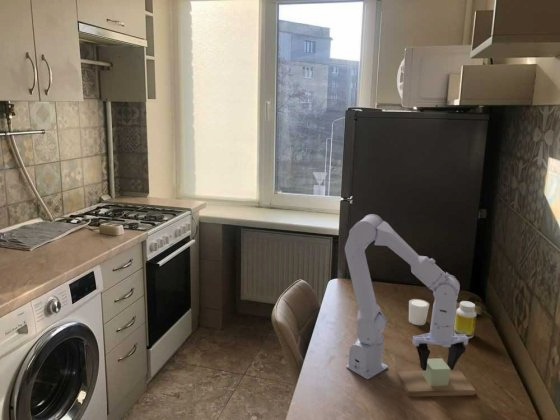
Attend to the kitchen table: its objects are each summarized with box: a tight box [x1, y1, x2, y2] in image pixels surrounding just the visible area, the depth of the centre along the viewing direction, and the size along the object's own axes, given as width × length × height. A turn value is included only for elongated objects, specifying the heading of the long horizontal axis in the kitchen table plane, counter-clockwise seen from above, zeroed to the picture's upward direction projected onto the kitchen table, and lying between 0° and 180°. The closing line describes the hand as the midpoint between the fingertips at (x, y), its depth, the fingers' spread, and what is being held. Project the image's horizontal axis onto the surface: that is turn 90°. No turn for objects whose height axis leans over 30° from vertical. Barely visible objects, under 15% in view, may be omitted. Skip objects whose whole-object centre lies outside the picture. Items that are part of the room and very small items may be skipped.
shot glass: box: [408, 298, 430, 326], centre depth 162 cm, size 7×7×7 cm
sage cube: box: [422, 357, 451, 386], centre depth 126 cm, size 5×5×5 cm
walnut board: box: [396, 370, 476, 398], centre depth 126 cm, size 9×18×2 cm, turn 95°
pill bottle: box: [453, 300, 477, 340], centre depth 153 cm, size 6×6×11 cm
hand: (436, 368), depth 125 cm, fingers open, 7 cm apart
